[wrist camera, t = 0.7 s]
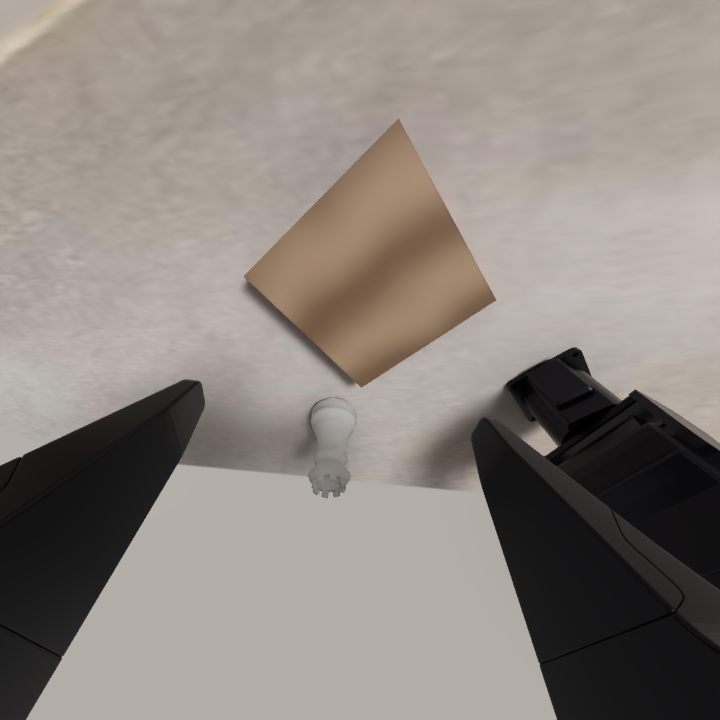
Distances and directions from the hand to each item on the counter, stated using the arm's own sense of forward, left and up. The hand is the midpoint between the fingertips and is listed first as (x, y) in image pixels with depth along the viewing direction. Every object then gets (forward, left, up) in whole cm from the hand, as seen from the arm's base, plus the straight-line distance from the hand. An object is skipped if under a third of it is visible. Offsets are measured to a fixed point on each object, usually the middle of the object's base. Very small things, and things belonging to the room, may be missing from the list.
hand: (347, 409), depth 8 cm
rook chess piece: (-9, +9, -13) cm, 18 cm away
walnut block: (-1, -2, -14) cm, 14 cm away
